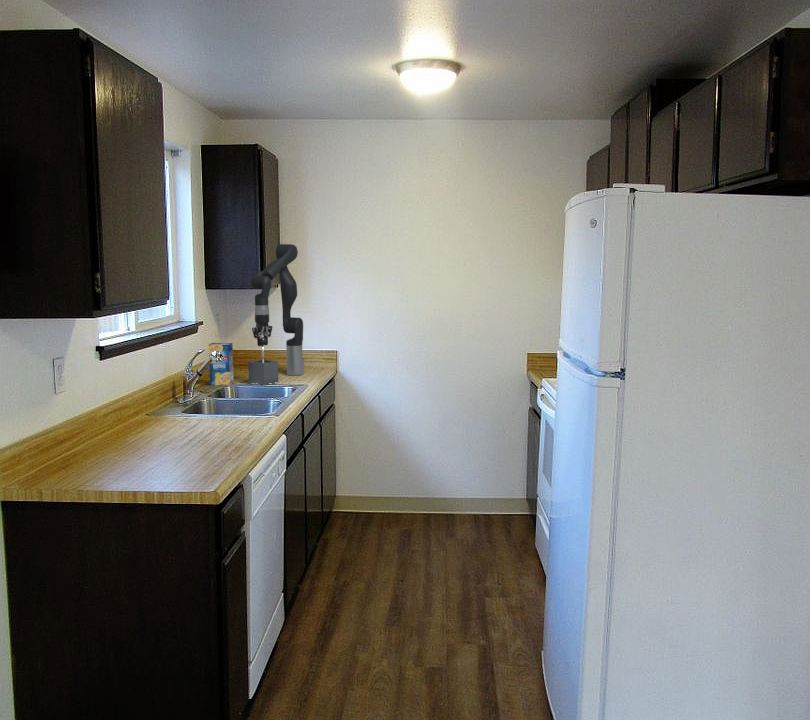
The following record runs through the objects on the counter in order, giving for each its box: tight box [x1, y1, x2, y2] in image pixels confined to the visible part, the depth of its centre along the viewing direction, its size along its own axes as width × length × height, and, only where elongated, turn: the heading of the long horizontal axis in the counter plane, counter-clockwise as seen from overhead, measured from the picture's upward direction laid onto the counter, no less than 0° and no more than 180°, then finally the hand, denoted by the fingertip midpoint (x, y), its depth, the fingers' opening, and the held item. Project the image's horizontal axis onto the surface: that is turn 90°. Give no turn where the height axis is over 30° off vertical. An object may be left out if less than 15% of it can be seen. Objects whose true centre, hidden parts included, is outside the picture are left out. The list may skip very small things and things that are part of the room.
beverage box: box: [208, 342, 235, 386], centre depth 394 cm, size 7×11×22 cm, turn 87°
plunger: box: [261, 336, 266, 363], centre depth 396 cm, size 8×8×16 cm
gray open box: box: [247, 359, 279, 385], centre depth 398 cm, size 11×11×12 cm
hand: (262, 345), depth 396 cm, fingers closed on plunger, 4 cm apart
